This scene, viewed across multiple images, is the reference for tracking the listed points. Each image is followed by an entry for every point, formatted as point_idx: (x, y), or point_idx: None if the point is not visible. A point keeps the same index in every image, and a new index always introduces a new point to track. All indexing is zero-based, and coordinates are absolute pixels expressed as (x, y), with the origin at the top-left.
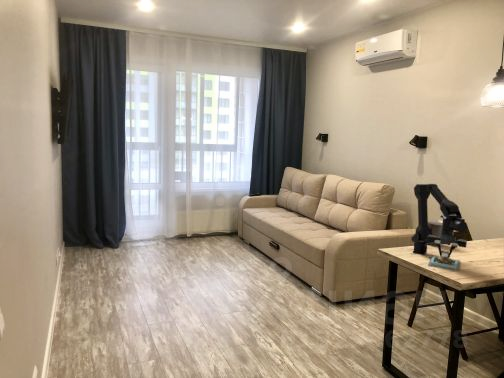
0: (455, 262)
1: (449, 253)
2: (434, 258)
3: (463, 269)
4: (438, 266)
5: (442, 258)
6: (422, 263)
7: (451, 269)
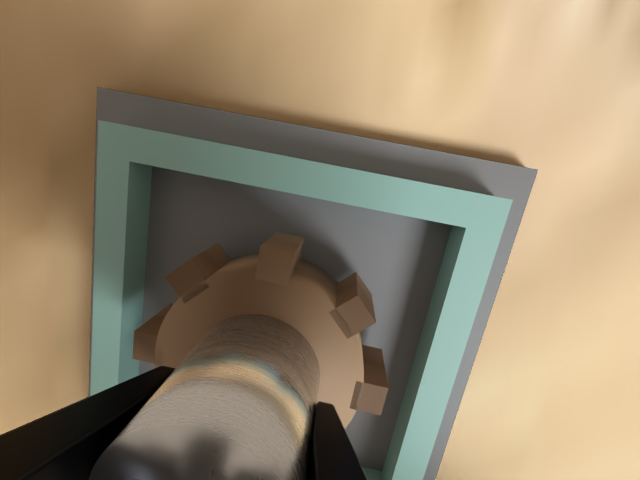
0: (112, 350)
1: (96, 417)
2: (397, 450)
3: (47, 210)
4: (375, 140)
5: (294, 337)
6: (594, 251)
7: (192, 105)
